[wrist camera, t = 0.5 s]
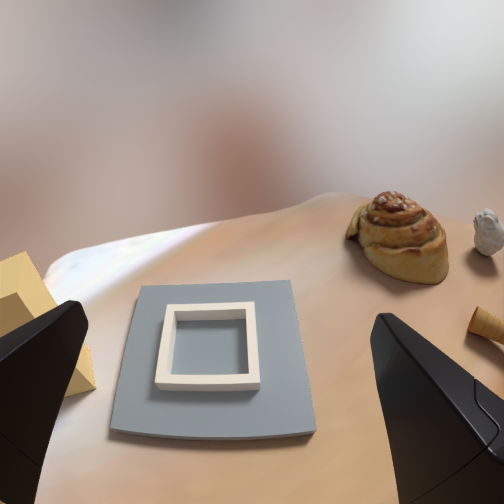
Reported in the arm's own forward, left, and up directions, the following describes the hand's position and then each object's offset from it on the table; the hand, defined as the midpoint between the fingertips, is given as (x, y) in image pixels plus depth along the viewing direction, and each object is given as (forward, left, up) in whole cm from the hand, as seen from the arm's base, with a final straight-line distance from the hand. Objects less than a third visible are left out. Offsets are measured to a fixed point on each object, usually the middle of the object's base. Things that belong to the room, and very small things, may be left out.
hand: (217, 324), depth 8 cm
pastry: (+28, -14, -17) cm, 35 cm away
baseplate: (+7, +5, -16) cm, 19 cm away
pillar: (0, +17, -16) cm, 24 cm away
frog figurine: (+31, -29, -17) cm, 46 cm away
